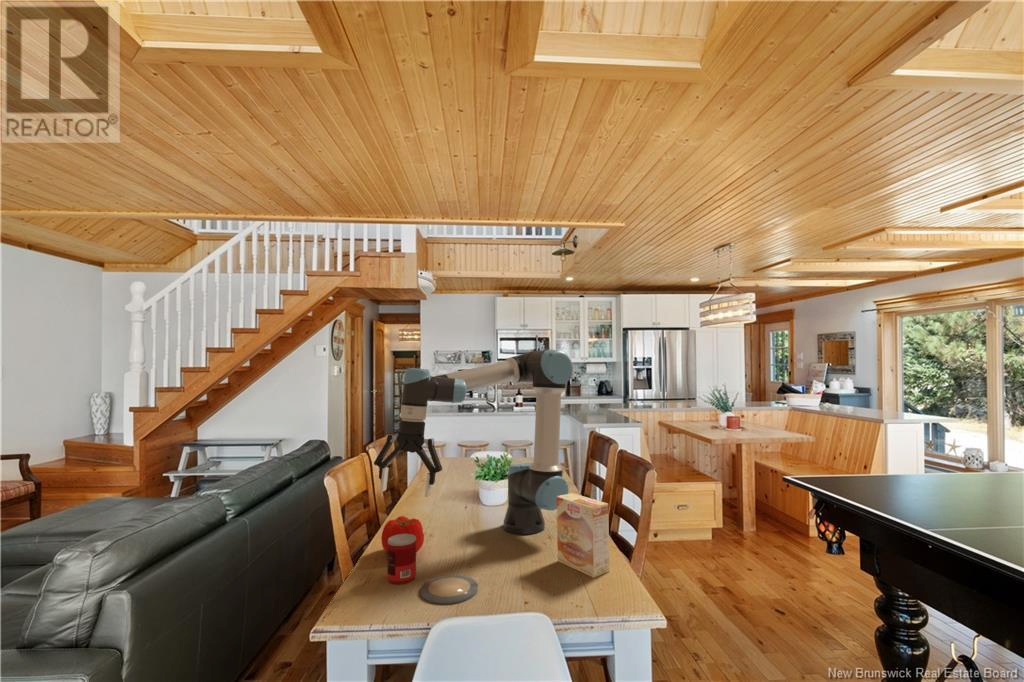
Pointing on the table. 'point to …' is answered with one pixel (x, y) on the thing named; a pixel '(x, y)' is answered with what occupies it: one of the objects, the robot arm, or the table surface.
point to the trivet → (449, 589)
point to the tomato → (403, 530)
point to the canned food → (401, 558)
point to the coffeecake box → (583, 534)
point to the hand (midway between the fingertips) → (405, 493)
